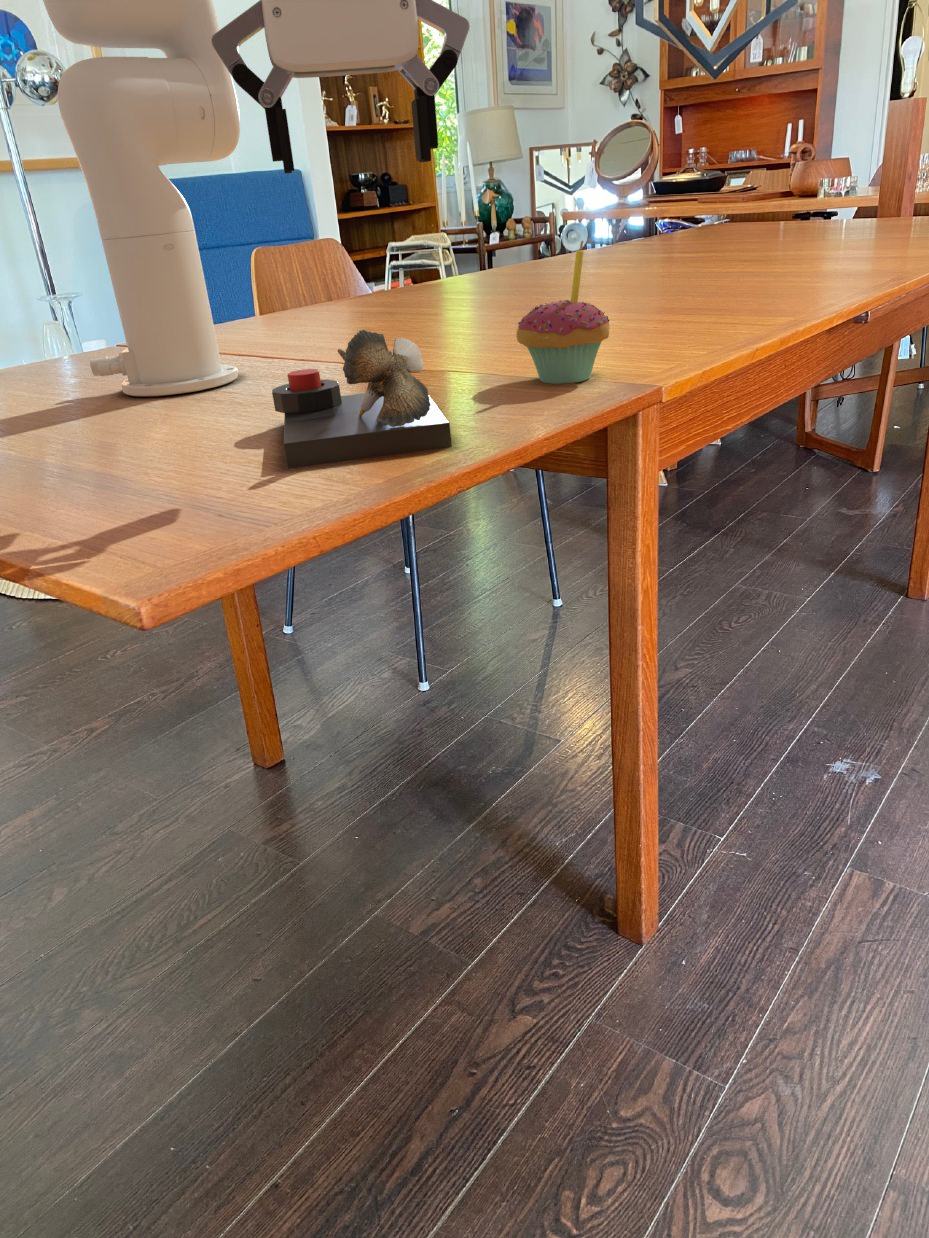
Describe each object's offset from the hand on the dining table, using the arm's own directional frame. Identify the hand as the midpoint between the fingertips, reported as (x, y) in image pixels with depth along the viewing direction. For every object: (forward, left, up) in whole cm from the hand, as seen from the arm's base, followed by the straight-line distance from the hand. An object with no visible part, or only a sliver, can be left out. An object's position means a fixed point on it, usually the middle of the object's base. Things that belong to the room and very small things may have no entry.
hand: (357, 167), depth 65 cm
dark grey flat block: (-2, 0, -19) cm, 19 cm away
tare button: (-6, +5, -16) cm, 18 cm away
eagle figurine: (0, -2, -17) cm, 18 cm away
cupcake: (+18, +12, -19) cm, 29 cm away
